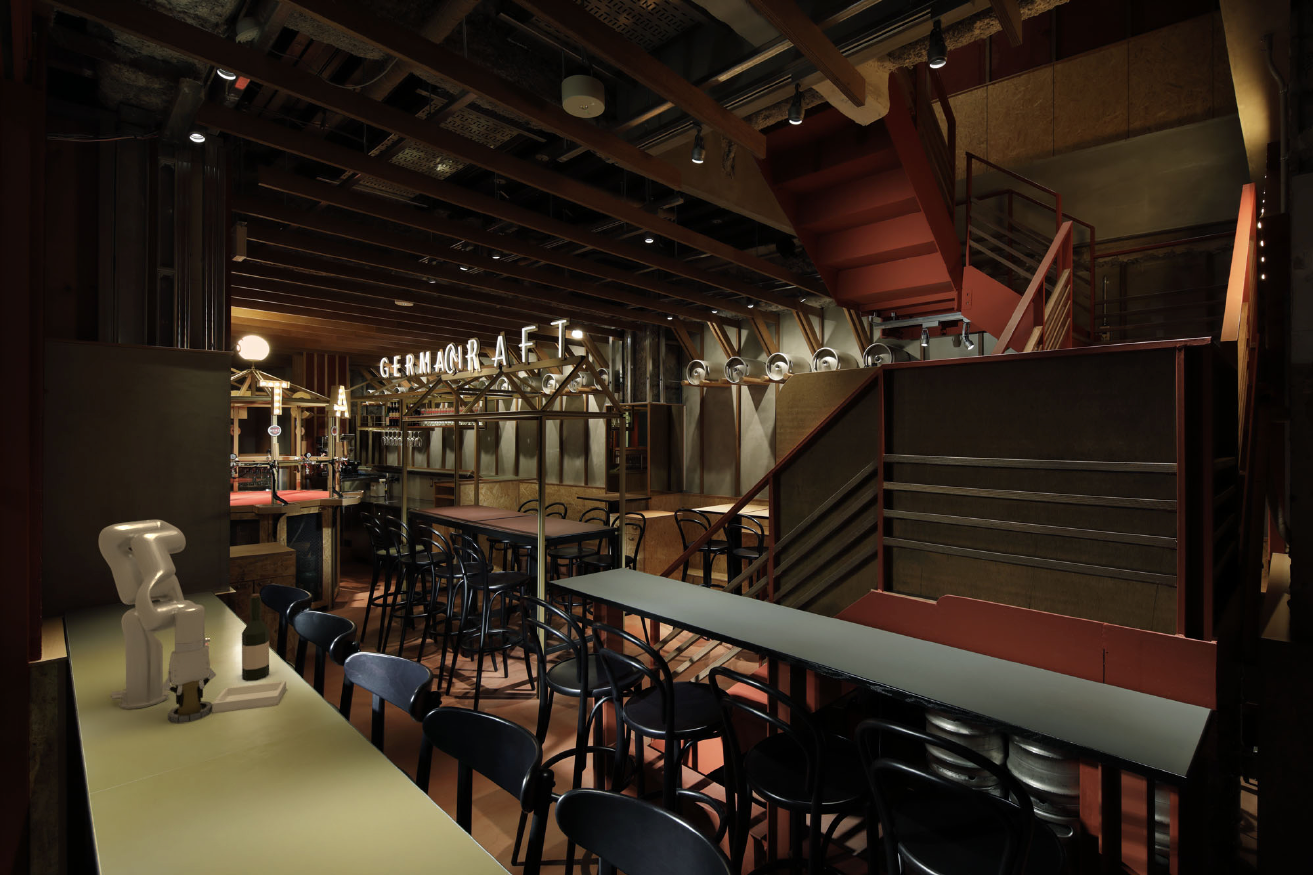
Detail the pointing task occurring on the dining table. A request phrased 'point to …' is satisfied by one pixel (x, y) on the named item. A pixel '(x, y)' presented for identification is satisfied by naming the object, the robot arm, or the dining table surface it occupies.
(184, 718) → the stone ring
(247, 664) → the wine bottle
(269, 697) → the white rectangular tray
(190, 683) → the cork
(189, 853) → the dining table surface
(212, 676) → the robot arm
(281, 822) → the dining table surface
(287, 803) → the dining table surface
